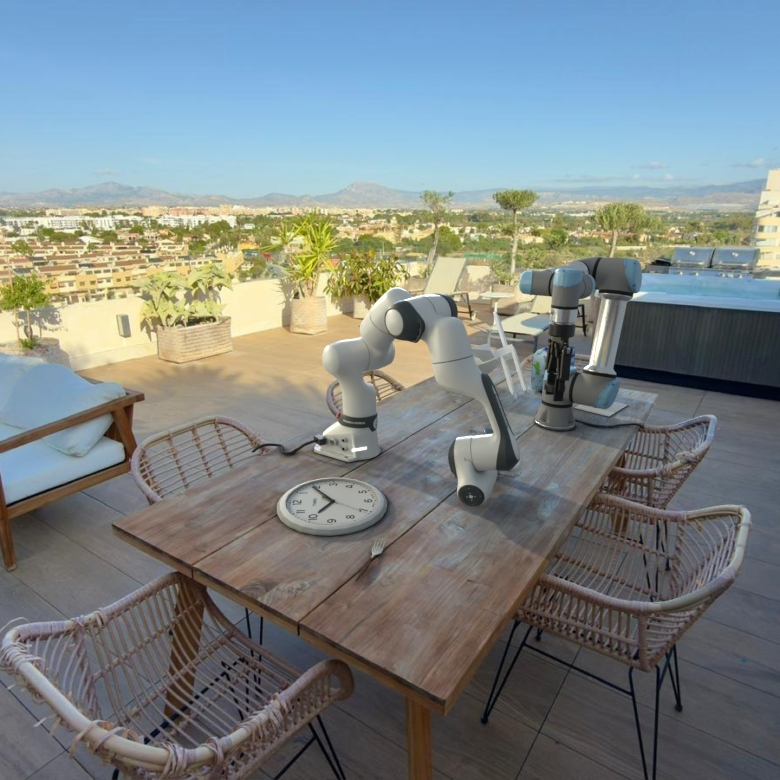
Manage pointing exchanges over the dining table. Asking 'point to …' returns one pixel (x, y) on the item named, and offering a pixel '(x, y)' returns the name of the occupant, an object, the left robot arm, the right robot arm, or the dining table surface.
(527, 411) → the dining table surface
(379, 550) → the fork
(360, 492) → the wall clock
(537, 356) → the lunch box
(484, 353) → the white plastic object
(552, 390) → the lid
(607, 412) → the invitation card
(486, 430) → the jar
